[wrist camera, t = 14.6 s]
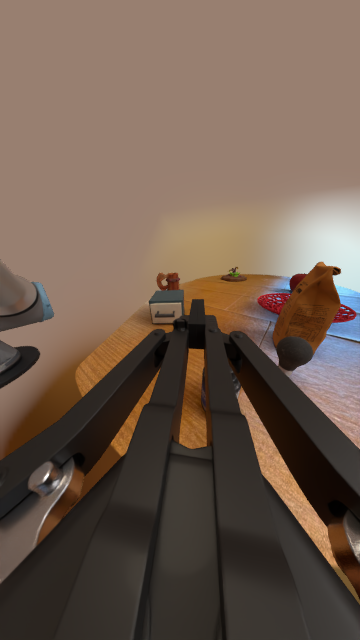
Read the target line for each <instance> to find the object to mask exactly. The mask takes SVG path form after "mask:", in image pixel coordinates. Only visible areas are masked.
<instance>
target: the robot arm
mask: <svg viewBox="0 0 360 640" xmlns="http://www.w3.org/2000/svg"><path fill="white" fill-rule="evenodd" d="M53 316H54V312H53V310H52V307H51V305H50V302H49V299H48V297H47V295H46V293H45V290H44V288H43V285H42V284H41V283H39V282H29V281H28V280H27V279H25V278H23V277H20V276H18V275H14V274H13V273H12V272H11V270H10V269H9V268H8V267H7V266H6V265H5V264H4V263H3V262H2V261H1V260H0V332H1V331H5V330H9V329H12V328H17V327H21V326H25V325H29V324H33V323H37V322H42V321H44V320H48V319H51V318H52V317H53ZM173 326H174V330H173V331H172V332H169V333H165V331H164V330H162V329H156V330H153V331H152V332H151V333H150V334H149V335H148V336H147V337H146V338H145V339H143V340H142V341H141V342H140V343H139V344H138V345H137V346H136V347H135V348H134V349H133V350H132V351H131V352H130V353H129V354H128V355H127V356H126V357H125V358H124V359H123V360H121V361H120V362H119V363H118V364H117V365H116V366H115V367H114V368H113V369H112V370H111V371H110V372H109V373H108V374H107V375H106V376H105V377H104V378H103V379H102V380H101V381H99V382H98V383H97V384H96V385H95V386H94V387H93V388H92V389H91V390H90V391H89V392H88V393H87V394H86V395H85V396H84V397H83V398H82V399H81V400H80V401H79V402H77V404H75V405H74V406H73V407H72V408H71V409H70V410H69V411H68V412H67V413H66V414H65V415H64V416H63V417H62V418H61V419H60V420H59V421H57V422H56V423H54V424H53V425H51V426H50V427H48V428H47V429H46V430H44V431H43V432H41V433H40V434H39V435H37V436H35V437H34V438H33V439H31V440H30V441H28V442H27V443H25V444H24V445H23V446H21V447H20V448H18V449H17V450H15V451H14V452H12V453H11V454H9V455H8V456H6V457H5V458H4V459H2V460H1V461H0V640H360V605H359V603H358V602H357V601H356V599H355V598H354V596H353V595H352V594H351V592H350V591H349V590H348V588H347V587H346V586H345V584H344V583H343V582H342V580H341V579H340V577H339V576H338V575H337V574H336V572H335V571H334V569H333V568H332V567H331V565H330V564H329V563H328V561H327V560H326V558H325V557H324V556H323V554H322V553H321V552H320V550H319V549H318V548H317V546H316V545H315V544H314V542H313V541H312V540H311V538H310V537H309V535H308V534H307V533H306V531H305V530H304V529H303V527H302V526H301V525H300V523H299V522H298V521H297V519H296V518H295V517H294V515H293V514H292V512H291V511H290V510H289V508H288V507H287V506H286V504H285V503H284V502H283V500H282V499H281V498H280V496H279V495H278V494H277V492H276V491H275V489H274V488H273V487H272V485H271V484H270V483H269V482H268V480H267V479H266V478H265V477H264V476H263V475H262V474H261V470H260V466H259V462H258V459H257V455H256V451H255V448H254V444H253V440H252V437H251V433H250V429H249V426H248V422H247V419H246V418H245V416H244V415H242V414H241V411H240V408H239V403H238V399H237V395H236V391H235V387H234V383H233V379H232V375H231V371H230V367H231V369H232V370H233V372H234V374H235V376H236V377H237V379H238V381H239V383H240V384H241V386H242V388H243V390H244V391H245V393H246V395H247V397H248V398H249V400H250V402H251V404H252V405H253V407H254V409H255V411H256V412H257V414H258V416H259V418H260V419H261V421H262V423H263V425H264V426H265V428H266V430H267V432H268V433H269V435H270V437H271V439H272V440H273V442H274V444H275V446H276V447H277V449H278V451H279V453H280V454H281V456H282V458H283V460H284V461H285V463H286V465H287V467H288V468H289V470H290V472H291V474H292V475H293V477H294V479H295V480H296V482H297V484H298V485H299V487H300V489H301V490H302V492H303V493H304V495H305V497H306V498H307V500H308V501H309V503H310V504H311V505H312V507H313V508H314V510H315V511H316V513H317V514H318V516H319V517H320V519H321V520H322V521H323V522H324V524H325V525H326V526H327V528H328V537H329V540H330V544H331V549H332V553H333V556H334V558H335V560H336V562H337V564H338V566H339V567H340V569H341V570H342V571H343V573H344V574H345V575H346V576H347V577H348V579H349V581H350V582H351V584H352V586H353V587H354V589H355V591H356V593H357V595H358V597H359V599H360V449H359V448H358V447H357V446H356V445H355V444H354V443H353V442H352V441H351V440H350V439H349V438H348V437H347V436H346V435H345V434H344V433H343V432H342V431H341V430H340V429H339V428H338V427H337V426H336V425H335V424H334V423H333V422H332V421H331V420H330V419H329V418H328V417H327V416H326V415H325V414H324V413H323V412H322V411H321V410H320V409H319V408H318V407H317V406H316V405H315V404H314V403H313V402H312V401H311V400H310V399H309V398H308V397H307V396H306V395H305V394H304V393H303V392H302V391H301V390H300V389H299V388H298V387H297V386H296V385H295V384H294V383H293V382H292V381H291V380H290V379H289V377H288V376H287V375H286V374H285V373H284V372H283V371H282V370H281V369H280V368H279V367H278V366H277V365H276V364H275V363H274V362H273V361H272V360H271V359H270V358H269V357H268V356H267V355H266V354H265V353H264V352H263V351H262V350H261V349H260V348H259V347H258V346H257V345H256V344H255V343H254V342H253V341H252V340H251V339H250V338H249V337H248V336H247V335H246V334H245V333H243V332H240V331H233V332H231V333H230V335H228V334H224V333H222V332H221V330H220V329H219V328H218V324H217V320H216V317H215V316H214V315H205V308H204V299H192V304H191V310H190V315H182V316H180V317H179V318H177V319H175V320H174V321H173ZM189 348H190V349H204V362H205V394H206V425H207V447H201V448H196V449H189V448H187V447H185V446H183V445H181V444H179V433H180V423H181V415H182V406H183V397H184V388H185V379H186V370H187V362H188V353H189ZM21 359H22V355H21V353H20V352H19V351H18V350H17V349H15V348H13V347H11V346H10V345H8V344H6V343H4V342H2V341H0V376H1V375H3V374H5V373H6V372H8V371H9V370H11V369H12V368H13V367H15V366H16V365H17V364H18V363H19V362H20V361H21ZM229 365H230V367H229ZM160 367H161V369H160ZM159 369H160V372H159V375H158V378H157V381H156V384H155V387H154V389H153V392H152V395H151V398H150V401H149V403H148V404H145V405H144V407H143V409H142V411H141V414H140V417H139V419H138V422H137V425H136V428H135V430H134V433H133V436H132V439H131V441H130V444H129V447H128V449H127V452H126V454H124V455H123V456H122V457H121V458H120V459H119V460H118V461H117V463H115V464H114V465H113V467H112V468H111V469H110V470H109V471H108V472H107V473H106V474H105V475H104V476H103V477H102V478H101V479H100V480H99V481H98V482H97V483H96V484H95V485H94V487H92V489H91V490H90V491H89V492H88V493H87V494H86V495H85V496H84V497H83V498H82V499H81V500H80V501H79V502H78V503H77V504H76V505H75V506H74V507H73V508H72V509H71V511H70V512H69V513H68V514H67V515H66V516H65V517H64V515H65V513H66V512H67V510H68V509H69V508H70V507H71V506H73V505H74V504H75V503H76V501H77V500H78V498H79V496H80V494H81V491H82V484H83V480H84V477H85V476H86V474H87V473H88V472H89V471H90V470H91V469H92V468H93V466H94V465H95V464H96V463H97V461H98V460H99V459H100V458H101V456H102V455H103V453H104V452H105V451H106V449H107V448H108V446H109V445H110V443H111V442H112V440H113V439H114V437H115V436H116V434H117V433H118V431H119V430H120V428H121V427H122V425H123V424H124V422H125V421H126V419H127V418H128V416H129V415H130V413H131V411H132V410H133V408H134V407H135V405H136V404H137V402H138V401H139V399H140V398H141V396H142V395H143V393H144V392H145V390H146V389H147V387H148V386H149V384H150V383H151V381H152V380H153V378H154V377H155V375H156V374H157V372H158V370H159ZM63 517H64V518H63Z"/></svg>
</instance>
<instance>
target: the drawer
mask: <svg viewBox="0 0 360 640" xmlns="http://www.w3.org/2000/svg"><path fill="white" fill-rule="evenodd" d="M150 308H151V314H152V320H153V323H173V321H174V320H175V319H177V318H179V317H180V316H182V309H181V303H180V302H179V303H154V304H150Z"/></svg>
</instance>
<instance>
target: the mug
mask: <svg viewBox="0 0 360 640" xmlns="http://www.w3.org/2000/svg"><path fill="white" fill-rule="evenodd" d="M165 278H167V279H166V281H167V282H168V285H166V286H163V285H162V283H161V281H162V280H163V279H165ZM179 280H180V278H178V273H168V274H167V275H164V274H163V273H159V274H158V276H157V284H158V287H159V288H160V289H161V290H162V291H163V290H166V289H167V288H168V289H167V290H180V289H179Z"/></svg>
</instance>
